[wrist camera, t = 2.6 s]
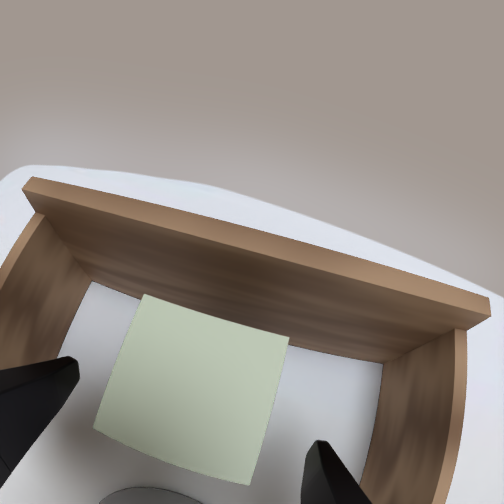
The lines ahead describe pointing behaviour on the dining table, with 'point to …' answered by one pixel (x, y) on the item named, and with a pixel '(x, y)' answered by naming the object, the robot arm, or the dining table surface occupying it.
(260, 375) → the block
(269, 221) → the dining table surface
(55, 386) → the robot arm
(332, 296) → the open box
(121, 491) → the grey mat
